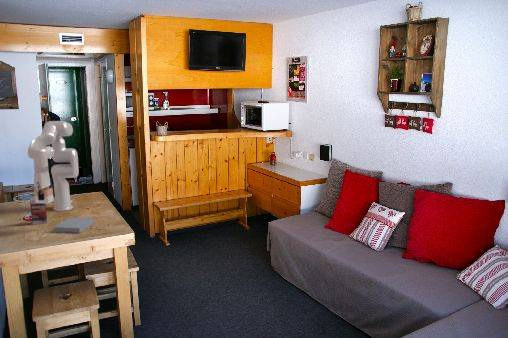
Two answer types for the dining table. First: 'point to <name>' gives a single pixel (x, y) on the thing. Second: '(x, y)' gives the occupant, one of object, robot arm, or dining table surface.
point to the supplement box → (38, 212)
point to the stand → (73, 225)
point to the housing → (45, 196)
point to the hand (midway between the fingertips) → (44, 198)
